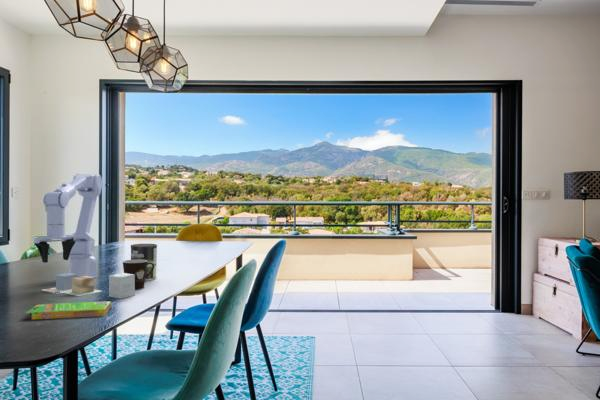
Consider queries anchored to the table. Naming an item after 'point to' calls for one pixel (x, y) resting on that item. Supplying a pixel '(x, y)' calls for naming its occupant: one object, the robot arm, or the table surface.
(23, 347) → the table surface
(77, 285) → the block
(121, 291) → the skincare box
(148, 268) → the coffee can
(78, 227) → the robot arm
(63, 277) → the cube
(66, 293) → the mat
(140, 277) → the coffee mug
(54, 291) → the letter
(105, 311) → the game box
